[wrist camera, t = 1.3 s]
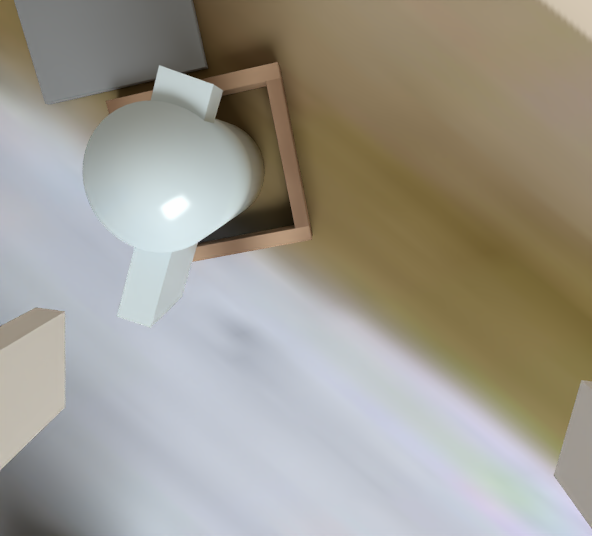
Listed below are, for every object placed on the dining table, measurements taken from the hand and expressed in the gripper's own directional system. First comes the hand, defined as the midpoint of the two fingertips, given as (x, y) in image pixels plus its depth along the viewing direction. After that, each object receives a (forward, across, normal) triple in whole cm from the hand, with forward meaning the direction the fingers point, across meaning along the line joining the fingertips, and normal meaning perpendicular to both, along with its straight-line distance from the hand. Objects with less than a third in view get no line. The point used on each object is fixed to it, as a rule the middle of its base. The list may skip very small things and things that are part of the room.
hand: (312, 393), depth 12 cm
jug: (+24, -9, +2) cm, 25 cm away
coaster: (+24, -17, +15) cm, 33 cm away
